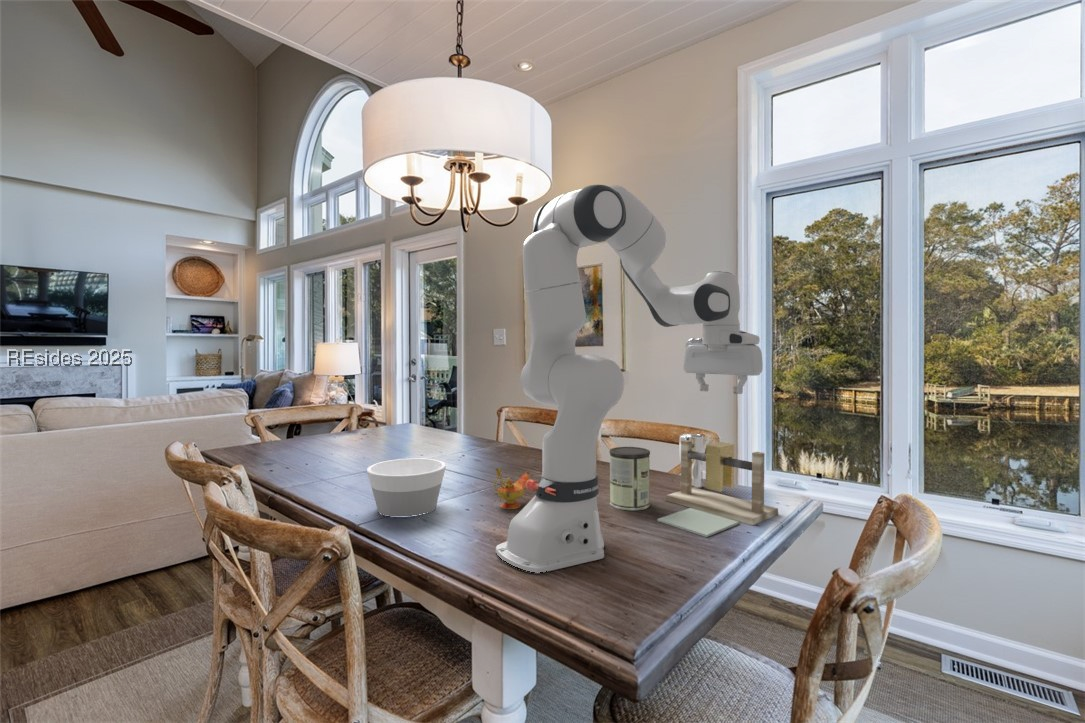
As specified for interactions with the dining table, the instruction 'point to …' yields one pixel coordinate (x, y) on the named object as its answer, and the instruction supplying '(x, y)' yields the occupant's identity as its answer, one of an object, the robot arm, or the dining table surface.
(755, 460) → the stand
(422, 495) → the bowl
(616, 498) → the coffee can
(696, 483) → the beer glass
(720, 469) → the tan upright block
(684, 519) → the mat
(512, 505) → the magic lamp
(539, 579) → the dining table surface
